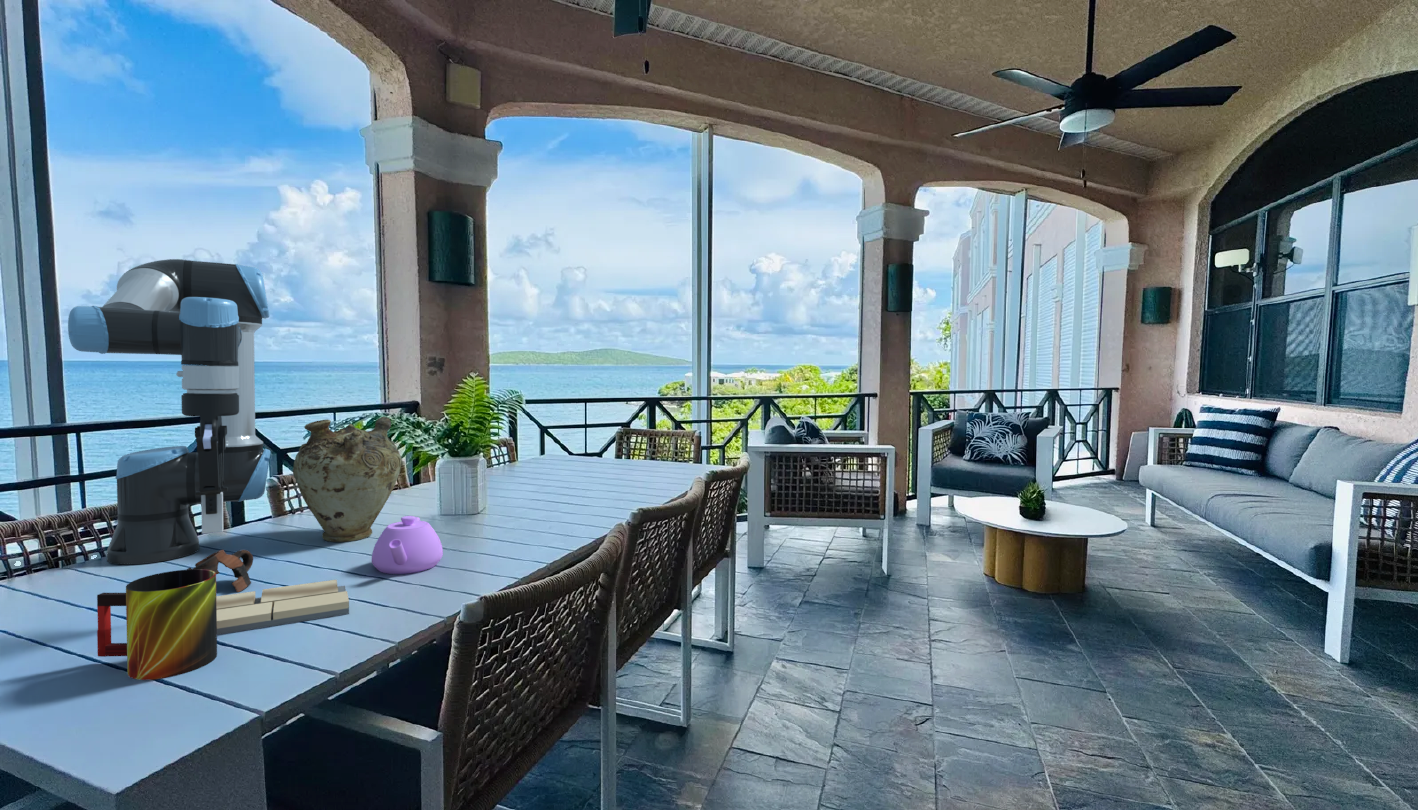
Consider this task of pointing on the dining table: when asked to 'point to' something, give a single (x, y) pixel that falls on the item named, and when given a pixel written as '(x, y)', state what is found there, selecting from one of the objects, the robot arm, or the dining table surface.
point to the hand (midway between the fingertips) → (212, 531)
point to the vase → (347, 477)
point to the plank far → (298, 591)
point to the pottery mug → (230, 566)
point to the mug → (163, 623)
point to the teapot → (407, 547)
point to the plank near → (235, 600)
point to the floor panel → (282, 612)
